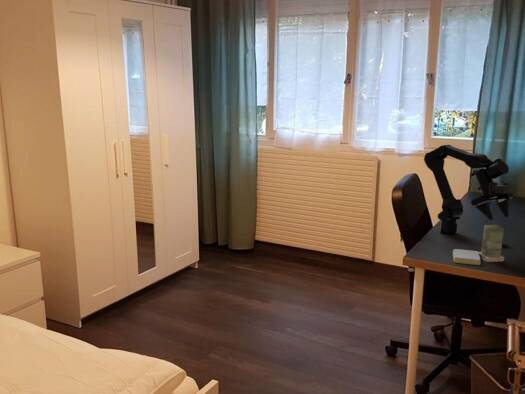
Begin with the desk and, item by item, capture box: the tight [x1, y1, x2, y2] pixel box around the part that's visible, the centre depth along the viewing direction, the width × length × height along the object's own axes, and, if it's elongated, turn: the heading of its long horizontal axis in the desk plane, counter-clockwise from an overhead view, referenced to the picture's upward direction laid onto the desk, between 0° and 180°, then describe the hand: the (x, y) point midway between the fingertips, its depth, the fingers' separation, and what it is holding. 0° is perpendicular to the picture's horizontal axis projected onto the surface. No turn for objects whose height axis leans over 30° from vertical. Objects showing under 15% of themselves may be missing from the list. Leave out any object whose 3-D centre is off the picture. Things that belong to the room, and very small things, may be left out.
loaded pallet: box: [478, 224, 505, 263], centre depth 191 cm, size 7×7×13 cm
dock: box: [452, 248, 481, 266], centre depth 191 cm, size 9×10×2 cm
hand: (499, 218), depth 199 cm, fingers open, 9 cm apart
